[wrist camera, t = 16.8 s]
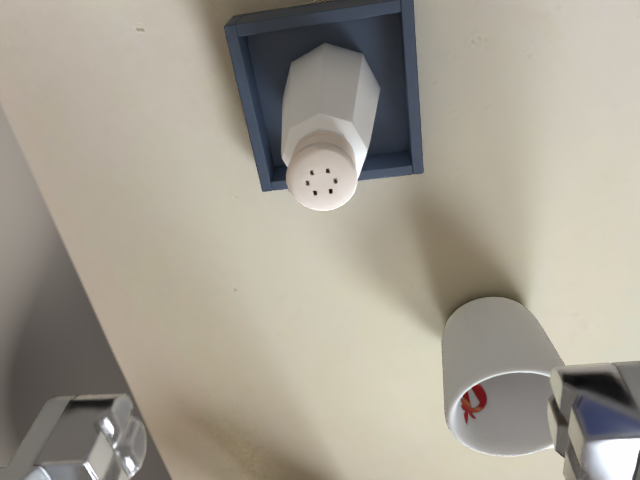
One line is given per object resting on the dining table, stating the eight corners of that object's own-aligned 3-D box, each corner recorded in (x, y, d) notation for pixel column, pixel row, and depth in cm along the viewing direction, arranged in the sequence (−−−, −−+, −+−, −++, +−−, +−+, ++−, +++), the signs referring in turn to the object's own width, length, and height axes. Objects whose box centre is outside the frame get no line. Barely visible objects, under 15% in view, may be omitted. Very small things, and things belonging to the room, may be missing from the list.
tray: (408, -12, 28) (413, -4, 26) (419, 155, 33) (423, 173, 31) (232, 16, 29) (223, 26, 27) (267, 173, 34) (262, 192, 32)
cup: (585, 354, 41) (630, 447, 34) (490, 400, 44) (515, 494, 37) (505, 261, 37) (539, 346, 30) (407, 319, 40) (419, 408, 33)
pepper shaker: (376, 35, 29) (387, 106, 20) (384, 133, 32) (396, 235, 23) (274, 48, 30) (238, 122, 20) (290, 143, 32) (265, 246, 23)
